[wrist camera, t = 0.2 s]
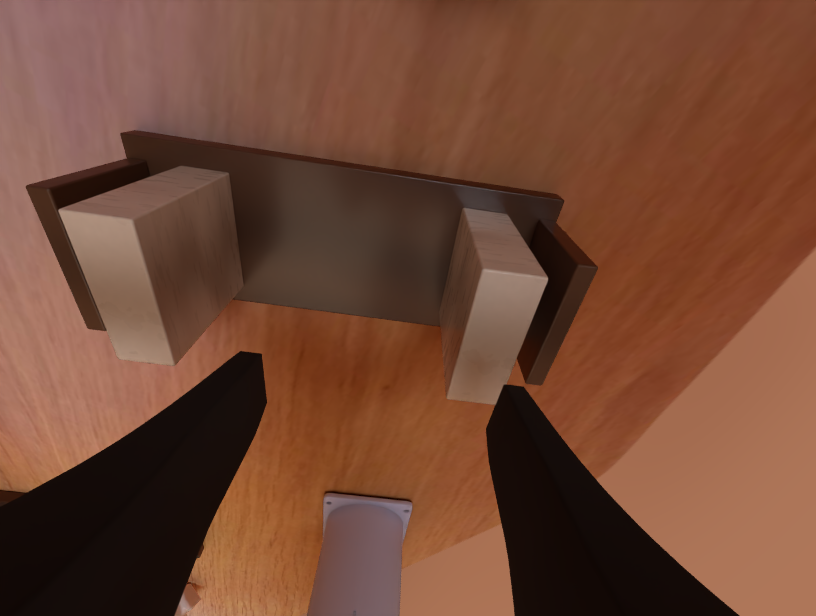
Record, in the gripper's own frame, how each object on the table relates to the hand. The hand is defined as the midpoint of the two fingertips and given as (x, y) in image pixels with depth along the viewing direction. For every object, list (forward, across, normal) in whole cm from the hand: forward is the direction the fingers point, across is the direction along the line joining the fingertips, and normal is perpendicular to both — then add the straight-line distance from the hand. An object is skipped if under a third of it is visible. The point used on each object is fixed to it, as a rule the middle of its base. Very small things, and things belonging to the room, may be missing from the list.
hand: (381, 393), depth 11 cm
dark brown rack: (+10, +3, 0) cm, 10 cm away
